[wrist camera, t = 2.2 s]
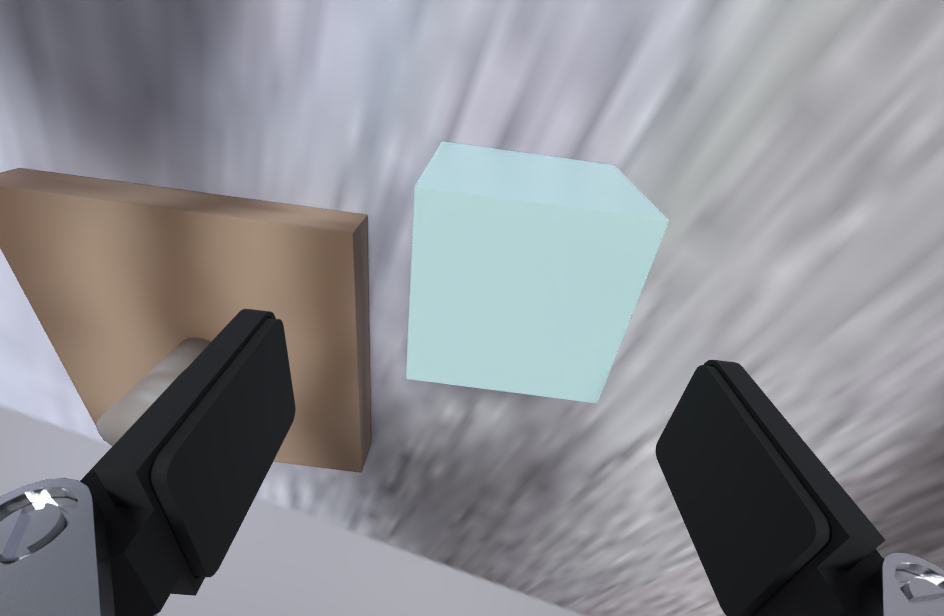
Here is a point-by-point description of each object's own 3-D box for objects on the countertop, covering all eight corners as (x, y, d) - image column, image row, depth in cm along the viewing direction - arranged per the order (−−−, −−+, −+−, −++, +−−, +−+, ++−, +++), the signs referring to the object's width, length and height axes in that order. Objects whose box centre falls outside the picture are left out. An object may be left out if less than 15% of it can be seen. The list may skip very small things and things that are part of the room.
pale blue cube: (614, 164, 15) (669, 220, 10) (571, 309, 19) (597, 403, 14) (441, 141, 15) (414, 186, 10) (430, 291, 19) (405, 378, 14)
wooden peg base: (367, 214, 17) (303, 296, 11) (371, 443, 24) (333, 558, 19) (19, 167, 17) (-219, 228, 11) (131, 412, 24) (22, 521, 19)
